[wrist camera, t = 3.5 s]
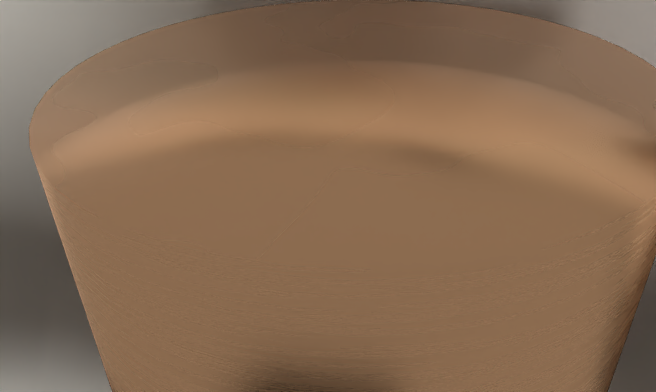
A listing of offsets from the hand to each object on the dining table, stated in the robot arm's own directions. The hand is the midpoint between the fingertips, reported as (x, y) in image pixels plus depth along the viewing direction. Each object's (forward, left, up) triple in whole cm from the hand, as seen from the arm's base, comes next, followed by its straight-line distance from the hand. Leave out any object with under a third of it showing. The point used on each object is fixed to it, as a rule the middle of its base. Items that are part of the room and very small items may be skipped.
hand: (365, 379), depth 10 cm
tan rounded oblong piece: (0, 0, -1) cm, 1 cm away
